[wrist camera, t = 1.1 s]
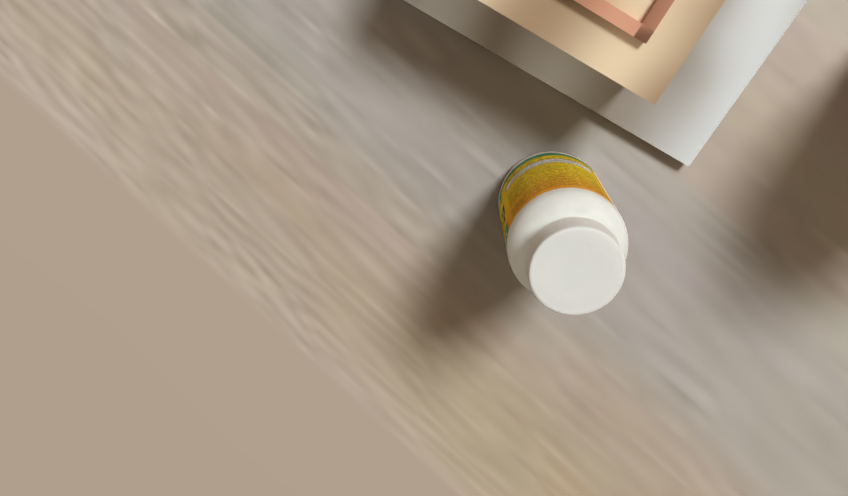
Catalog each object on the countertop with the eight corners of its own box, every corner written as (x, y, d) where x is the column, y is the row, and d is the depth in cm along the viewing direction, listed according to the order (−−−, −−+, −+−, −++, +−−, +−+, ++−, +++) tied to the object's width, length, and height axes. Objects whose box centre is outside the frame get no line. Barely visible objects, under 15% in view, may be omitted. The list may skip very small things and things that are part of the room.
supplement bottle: (618, 214, 42) (666, 293, 33) (528, 263, 43) (551, 353, 35) (570, 127, 41) (606, 187, 32) (477, 181, 42) (488, 253, 33)
